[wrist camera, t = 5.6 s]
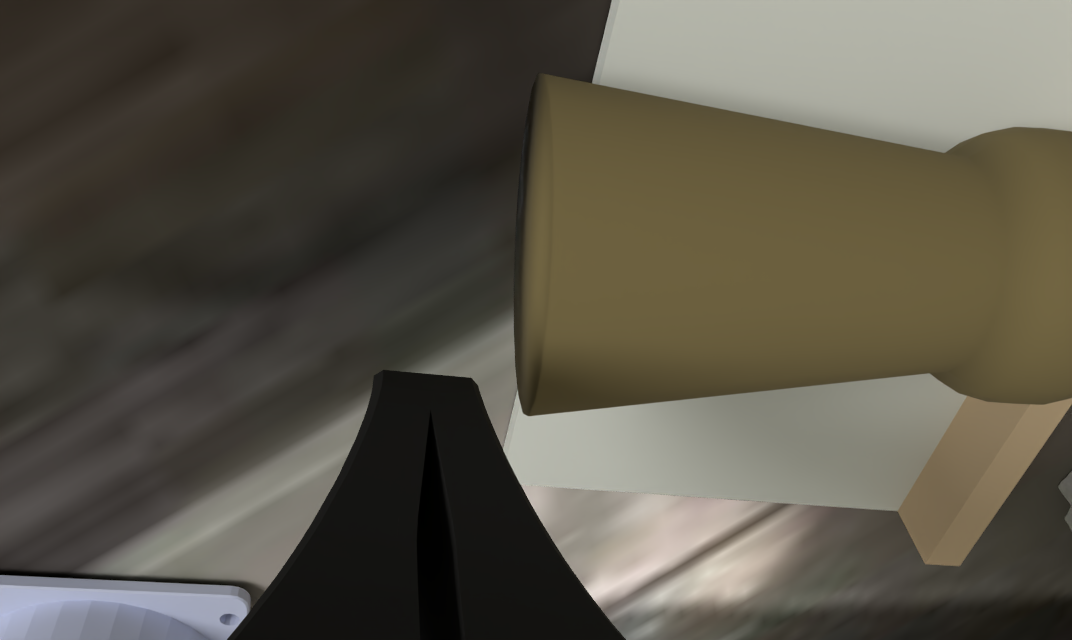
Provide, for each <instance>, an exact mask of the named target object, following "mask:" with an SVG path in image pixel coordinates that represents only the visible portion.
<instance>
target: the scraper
mask: <svg viewBox="0 0 1072 640" xmlns="http://www.w3.org/2000/svg"><path fill="white" fill-rule="evenodd" d="M592 83H593V84H598V85H603V86H608V87H613V88H618V89H623V90H628V91H633V92H638V93H643V94H648V95H653V96H658V97H664V98H669V99H674V100H679V101H684V102H689V103H694V104H699V105H704V106H709V107H714V108H719V109H724V110H729V111H734V112H739V113H745V114H750V115H755V116H760V117H765V118H770V119H775V120H780V121H785V122H790V123H795V124H800V125H805V126H810V127H815V128H820V129H826V130H831V131H836V132H841V133H846V134H851V135H856V136H861V137H866V138H871V139H876V140H881V141H886V142H891V143H896V144H901V145H907V146H912V147H917V148H922V149H927V150H932V151H937V152H942V153H945V152H947V151H948V150H950V149H951V148H953V147H954V146H956V145H957V144H959V143H961V142H963V141H966V140H968V139H970V138H973V137H975V136H978V135H980V134H983V133H987V132H992V131H997V130H1001V129H1006V128H1011V127H1031V128H1048V129H1056V130H1064V131H1072V0H612V2H611V7H610V11H609V15H608V19H607V23H606V27H605V31H604V36H603V40H602V44H601V48H600V52H599V56H598V60H597V64H596V69H595V73H594V77H593V81H592ZM1071 405H1072V398H1070V399H1066V400H1062V401H1058V402H1053V403H1049V404H1045V405H1034V404H1011V403H997V402H986V401H983V400H980V399H976V398H973V397H969V396H966V395H963V394H959V393H957V392H956V391H954V390H953V389H951V388H950V387H948V386H946V385H945V384H943V383H942V382H940V381H939V380H937V379H936V378H935V377H934V376H932V375H931V374H930V373H927V374H918V375H909V376H900V377H890V378H881V379H872V380H862V381H853V382H844V383H834V384H825V385H816V386H807V387H797V388H788V389H779V390H769V391H760V392H751V393H742V394H732V395H723V396H714V397H704V398H695V399H686V400H676V401H667V402H658V403H649V404H639V405H630V406H621V407H611V408H602V409H593V410H583V411H574V412H565V413H556V414H546V415H537V416H527V415H525V414H523V412H522V408H521V404H520V400H519V396H518V390H517V395H516V399H515V403H514V407H513V411H512V415H511V419H510V423H509V428H508V432H507V436H506V440H505V444H504V448H503V451H504V453H505V455H506V457H507V459H508V461H509V463H510V465H511V467H512V469H513V471H514V473H515V475H516V477H517V479H518V481H519V483H520V485H530V486H544V487H558V488H573V489H587V490H601V491H616V492H630V493H644V494H659V495H673V496H687V497H702V498H716V499H730V500H744V501H759V502H773V503H787V504H802V505H816V506H830V507H845V508H859V509H873V510H888V511H898V513H899V515H900V517H901V519H902V521H903V523H904V525H905V526H906V528H907V530H908V532H909V534H910V536H911V538H912V540H913V542H914V544H915V546H916V548H917V550H918V552H919V553H920V555H921V557H922V559H923V561H924V563H925V564H932V565H949V566H960V565H961V564H962V562H963V561H964V559H965V558H966V556H967V555H968V553H969V552H970V551H971V549H972V548H973V546H974V545H975V543H976V542H977V540H978V539H979V538H980V536H981V535H982V533H983V532H984V530H985V529H986V527H987V526H988V525H989V523H990V522H991V520H992V519H993V517H994V516H995V514H996V513H997V512H998V510H999V509H1000V507H1001V506H1002V504H1003V503H1004V501H1005V500H1006V499H1007V497H1008V496H1009V494H1010V493H1011V491H1012V490H1013V488H1014V487H1015V486H1016V484H1017V483H1018V481H1019V480H1020V478H1021V477H1022V475H1023V474H1024V473H1025V471H1026V470H1027V468H1028V467H1029V465H1030V464H1031V462H1032V461H1033V460H1034V458H1035V457H1036V455H1037V454H1038V452H1039V451H1040V449H1041V448H1042V447H1043V445H1044V444H1045V442H1046V441H1047V439H1048V438H1049V436H1050V435H1051V434H1052V432H1053V431H1054V429H1055V428H1056V426H1057V425H1058V423H1059V422H1060V421H1061V419H1062V418H1063V416H1064V415H1065V413H1066V412H1067V410H1068V409H1069V408H1070V406H1071Z"/></svg>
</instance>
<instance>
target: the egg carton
mask: <svg viewBox="0 0 1072 640" xmlns="http://www.w3.org/2000/svg"><path fill="white" fill-rule="evenodd" d="M1058 488H1059V490H1060V491H1061V492H1062V494H1063V495H1064V497H1065V498H1066V499H1067V501H1068V502H1069V503H1070V505H1071V507H1070V509H1069V512H1068V514H1067V515H1066V517H1065V518H1064V519H1065V521H1066V522H1067V524H1068V525H1069V527H1070V530H1071V531H1072V471H1071V472H1070V473H1069V474H1068V476H1067V477H1066V478H1065V479H1064V480H1062V481H1061V483H1060V485H1059V486H1058Z"/></svg>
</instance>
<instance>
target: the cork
mask: <svg viewBox="0 0 1072 640" xmlns="http://www.w3.org/2000/svg"><path fill="white" fill-rule="evenodd" d="M514 342H515V367H516V377H517V386H518V396H519V400H520V404H521V408H522V412H523V414H525V415H527V416H537V415H546V414H556V413H565V412H574V411H583V410H593V409H602V408H611V407H621V406H630V405H639V404H649V403H658V402H667V401H676V400H686V399H695V398H704V397H714V396H723V395H732V394H742V393H751V392H760V391H769V390H779V389H788V388H797V387H807V386H816V385H825V384H834V383H844V382H853V381H862V380H872V379H881V378H890V377H900V376H909V375H918V374H927V373H930V374H931V375H932V376H934V377H935V378H936V379H937V380H939V381H940V382H942V383H943V384H945V385H946V386H948V387H950V388H951V389H953V390H954V391H956V392H957V393H959V394H963V395H966V396H969V397H973V398H976V399H980V400H983V401H986V402H997V403H1011V404H1034V405H1045V404H1049V403H1053V402H1058V401H1062V400H1066V399H1070V398H1072V131H1064V130H1056V129H1048V128H1031V127H1011V128H1006V129H1001V130H997V131H992V132H987V133H983V134H980V135H978V136H975V137H973V138H970V139H968V140H966V141H963V142H961V143H959V144H957V145H956V146H954V147H953V148H951V149H950V150H948V151H947V152H945V153H942V152H937V151H932V150H927V149H922V148H917V147H912V146H907V145H901V144H896V143H891V142H886V141H881V140H876V139H871V138H866V137H861V136H856V135H851V134H846V133H841V132H836V131H831V130H826V129H820V128H815V127H810V126H805V125H800V124H795V123H790V122H785V121H780V120H775V119H770V118H765V117H760V116H755V115H750V114H745V113H739V112H734V111H729V110H724V109H719V108H714V107H709V106H704V105H699V104H694V103H689V102H684V101H679V100H674V99H669V98H664V97H658V96H653V95H648V94H643V93H638V92H633V91H628V90H623V89H618V88H613V87H608V86H603V85H598V84H593V83H588V82H583V81H578V80H572V79H567V78H562V77H557V76H552V75H547V74H542V73H538V75H537V77H536V80H535V82H534V85H533V87H532V92H531V97H530V102H529V106H528V111H527V116H526V124H525V132H524V139H523V147H522V155H521V166H520V178H519V189H518V202H517V219H516V237H515V266H514Z"/></svg>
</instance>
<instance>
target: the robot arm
mask: <svg viewBox="0 0 1072 640" xmlns="http://www.w3.org/2000/svg"><path fill="white" fill-rule="evenodd" d="M250 604H251V598H250V594H249V593H248V592H247V591H246V590H245V589H243V588H240V587H237V586H228V585H206V584H185V583H164V582H142V581H121V580H99V579H78V578H57V577H35V576H14V575H0V640H626V639H625V638H624V637H623V636H622V635H621V633H620V632H619V631H618V630H617V629H616V628H615V626H614V625H613V624H612V623H611V622H610V620H609V619H608V618H607V616H606V615H605V614H604V613H603V611H602V610H601V609H600V607H599V606H598V605H597V604H596V602H595V601H594V600H593V598H592V597H591V596H590V595H589V593H588V592H587V590H586V589H585V588H584V586H583V585H582V583H581V582H580V581H579V579H578V578H577V577H576V575H575V574H574V572H573V571H572V570H571V568H570V567H569V565H568V564H567V562H566V561H565V559H564V558H563V556H562V555H561V553H560V552H559V550H558V548H557V547H556V545H555V544H554V542H553V541H552V539H551V537H550V536H549V534H548V532H547V531H546V529H545V527H544V526H543V524H542V522H541V521H540V519H539V517H538V516H537V514H536V512H535V510H534V509H533V507H532V505H531V503H530V502H529V500H528V498H527V496H526V494H525V492H524V490H523V488H522V487H521V485H520V483H519V481H518V479H517V477H516V475H515V473H514V471H513V469H512V467H511V465H510V463H509V461H508V459H507V457H506V455H505V453H504V451H503V449H502V446H501V444H500V442H499V440H498V437H497V435H496V433H495V431H494V428H493V426H492V424H491V421H490V419H489V416H488V414H487V411H486V409H485V406H484V403H483V400H482V397H481V395H480V391H479V388H478V385H477V384H476V383H475V382H474V381H473V379H472V378H466V377H455V376H444V375H433V374H422V373H411V372H400V371H389V370H383V371H381V372H379V373H378V374H376V375H374V380H373V388H372V393H371V397H370V401H369V405H368V408H367V411H366V414H365V417H364V420H363V422H362V425H361V427H360V430H359V432H358V435H357V437H356V440H355V442H354V444H353V446H352V448H351V450H350V453H349V455H348V457H347V459H346V461H345V463H344V465H343V467H342V470H341V472H340V474H339V476H338V478H337V480H336V481H335V483H334V485H333V487H332V489H331V490H330V492H329V494H328V496H327V497H326V499H325V501H324V503H323V505H322V506H321V508H320V510H319V512H318V513H317V515H316V517H315V519H314V520H313V522H312V524H311V525H310V527H309V529H308V530H307V532H306V533H305V535H304V536H303V538H302V540H301V541H300V543H299V544H298V546H297V547H296V549H295V550H294V552H293V553H292V555H291V556H290V558H289V559H288V561H287V562H286V563H285V565H284V566H283V568H282V569H281V571H280V572H279V573H278V575H277V576H276V578H275V579H274V580H273V582H272V583H271V584H270V586H269V587H268V588H267V590H266V591H265V592H264V594H263V595H262V596H261V597H260V599H259V600H258V601H257V603H256V604H255V605H254V607H253V608H252V609H251V611H250Z"/></svg>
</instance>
